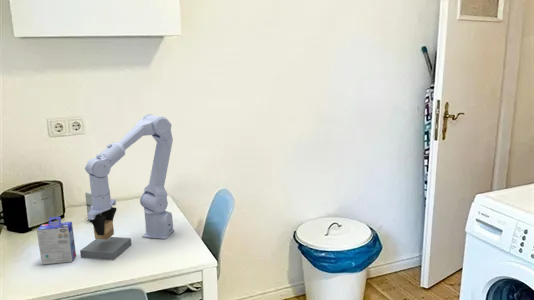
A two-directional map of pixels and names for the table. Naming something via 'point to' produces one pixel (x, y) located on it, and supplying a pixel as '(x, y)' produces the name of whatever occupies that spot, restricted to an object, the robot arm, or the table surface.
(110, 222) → the wooden block
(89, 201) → the white cardboard box
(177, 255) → the table surface
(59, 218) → the ink cartridge box
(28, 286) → the table surface
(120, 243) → the gray square plate
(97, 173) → the robot arm
